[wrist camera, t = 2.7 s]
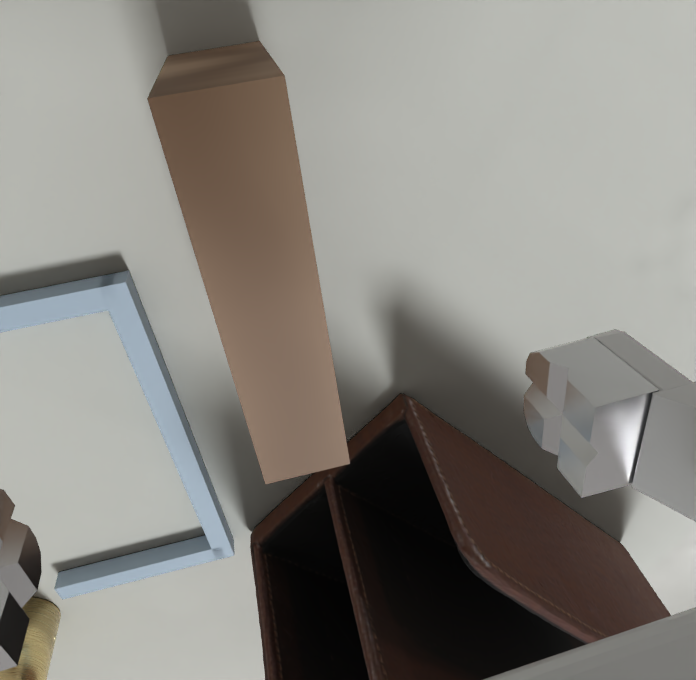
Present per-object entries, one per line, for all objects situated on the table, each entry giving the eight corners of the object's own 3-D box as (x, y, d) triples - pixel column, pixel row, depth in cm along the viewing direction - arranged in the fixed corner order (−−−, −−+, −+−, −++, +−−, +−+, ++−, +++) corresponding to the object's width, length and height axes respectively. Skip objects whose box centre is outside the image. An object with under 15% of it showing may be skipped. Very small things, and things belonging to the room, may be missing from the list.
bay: (128, 270, 17) (125, 282, 17) (233, 540, 25) (234, 555, 24) (-124, 320, 16) (-138, 335, 16) (66, 582, 24) (62, 599, 24)
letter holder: (493, 630, 35) (631, 948, 24) (245, 528, 25) (277, 998, 14) (621, 539, 32) (848, 850, 21) (401, 384, 22) (606, 821, 11)
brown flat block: (259, 40, 15) (284, 75, 10) (316, 345, 20) (350, 463, 15) (168, 55, 14) (146, 97, 10) (251, 359, 20) (265, 484, 15)
